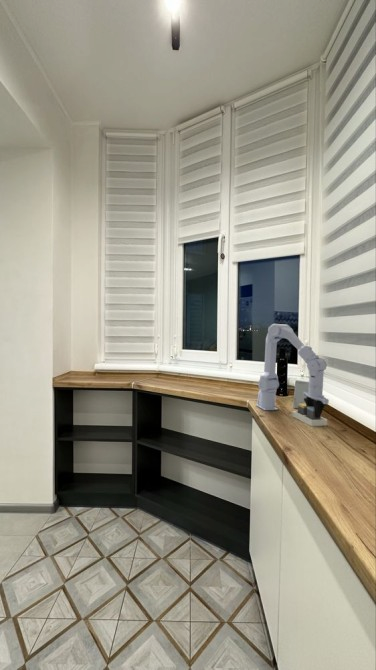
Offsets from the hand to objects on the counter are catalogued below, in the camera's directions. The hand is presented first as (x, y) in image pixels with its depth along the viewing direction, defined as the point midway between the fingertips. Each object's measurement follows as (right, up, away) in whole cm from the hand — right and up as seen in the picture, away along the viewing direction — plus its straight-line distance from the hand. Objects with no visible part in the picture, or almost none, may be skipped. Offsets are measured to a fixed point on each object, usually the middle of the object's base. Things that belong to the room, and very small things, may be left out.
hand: (314, 415), depth 133 cm
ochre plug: (-2, -2, +6) cm, 7 cm away
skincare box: (+4, -3, +24) cm, 25 cm away
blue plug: (0, -2, 0) cm, 2 cm away
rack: (-1, -3, +3) cm, 5 cm away
